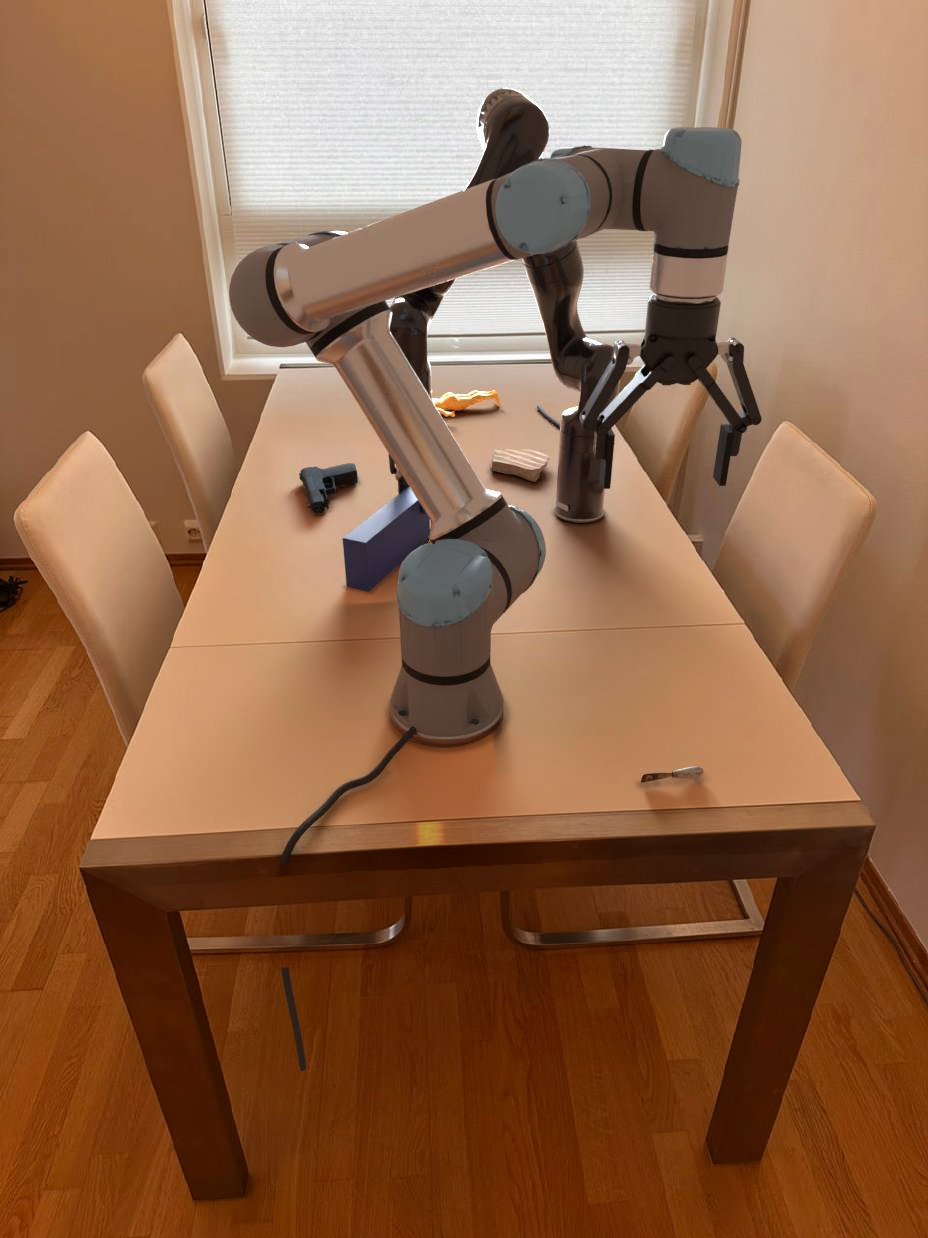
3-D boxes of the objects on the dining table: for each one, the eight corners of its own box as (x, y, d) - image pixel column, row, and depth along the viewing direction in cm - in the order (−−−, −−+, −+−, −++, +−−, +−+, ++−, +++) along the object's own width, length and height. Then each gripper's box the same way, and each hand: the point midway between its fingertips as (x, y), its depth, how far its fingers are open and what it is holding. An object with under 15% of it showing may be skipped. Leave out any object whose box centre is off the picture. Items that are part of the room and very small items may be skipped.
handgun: (369, 509, 176) (308, 516, 174) (354, 474, 190) (298, 480, 188) (368, 494, 174) (307, 501, 172) (353, 460, 189) (296, 466, 186)
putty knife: (703, 777, 109) (705, 767, 109) (642, 788, 108) (644, 777, 107) (700, 772, 110) (702, 762, 109) (639, 782, 109) (640, 771, 108)
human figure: (395, 413, 223) (394, 398, 221) (438, 390, 237) (438, 375, 235) (462, 429, 215) (462, 413, 213) (502, 404, 229) (503, 388, 227)
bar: (369, 592, 149) (365, 542, 144) (346, 586, 150) (342, 537, 145) (430, 536, 166) (429, 490, 161) (409, 532, 168) (407, 486, 163)
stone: (554, 462, 195) (554, 451, 194) (536, 482, 186) (537, 471, 185) (499, 454, 200) (499, 444, 198) (479, 474, 190) (479, 463, 189)
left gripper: (788, 285, 97) (756, 467, 109) (561, 289, 96) (552, 472, 108) (815, 301, 91) (777, 493, 102) (572, 305, 90) (561, 498, 101)
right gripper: (453, 424, 150) (454, 514, 159) (408, 402, 160) (412, 487, 169) (415, 433, 146) (418, 525, 155) (372, 410, 157) (377, 497, 165)
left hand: (662, 483), depth 105 cm, fingers open, 13 cm apart
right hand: (415, 505), depth 162 cm, fingers open, 6 cm apart
